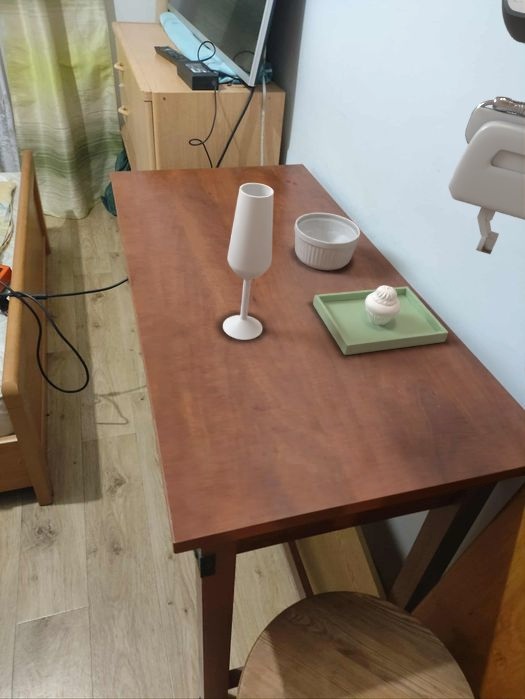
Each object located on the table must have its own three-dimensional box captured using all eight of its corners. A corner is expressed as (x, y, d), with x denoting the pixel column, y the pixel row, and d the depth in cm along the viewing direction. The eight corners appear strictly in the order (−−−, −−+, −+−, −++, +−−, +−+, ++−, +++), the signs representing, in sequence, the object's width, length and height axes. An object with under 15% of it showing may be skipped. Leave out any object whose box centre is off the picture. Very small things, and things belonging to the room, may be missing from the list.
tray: (404, 295, 98) (407, 286, 97) (444, 341, 88) (448, 332, 87) (312, 304, 93) (314, 294, 91) (344, 355, 83) (347, 345, 81)
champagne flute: (264, 317, 88) (282, 183, 72) (260, 342, 83) (279, 203, 67) (225, 312, 88) (235, 177, 72) (219, 336, 83) (229, 196, 67)
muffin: (362, 306, 93) (371, 273, 88) (395, 314, 92) (407, 281, 87) (358, 326, 88) (368, 292, 83) (394, 334, 87) (405, 301, 83)
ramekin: (277, 250, 106) (281, 219, 102) (322, 236, 113) (328, 206, 109) (321, 281, 99) (327, 249, 94) (366, 263, 106) (374, 233, 101)
